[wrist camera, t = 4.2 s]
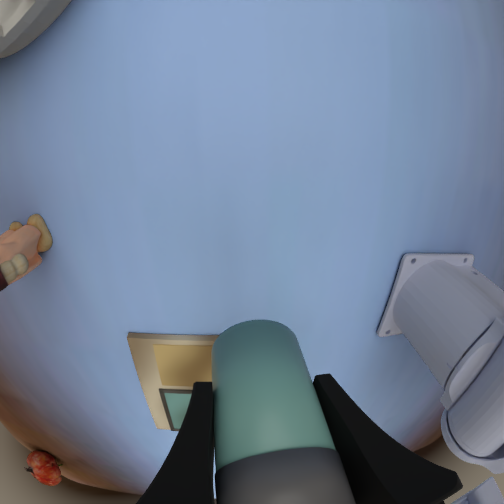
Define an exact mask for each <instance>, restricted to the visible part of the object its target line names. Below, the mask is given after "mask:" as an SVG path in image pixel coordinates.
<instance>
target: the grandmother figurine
mask: <svg viewBox="0 0 504 504" xmlns="http://www.w3.org/2000/svg"><path fill="white" fill-rule="evenodd" d="M51 246H52V236H51V234H50V232H49V230H48V228H47V226H46V224H45V222H44V220H43V218H42V217H41V216H40V215H38V214H34V215H32V216H30V217H29V219H28V221H27V225H24V226H22V224H21V223H19V222H13V223H12V224H11V225H10V227H9V230H8V231H6V232H5V233H3V234H2V235H1V236H0V291H1V290H3V289H4V288H6V287H7V286H8V285H10V284H11V283H13V282H15V281H17V280H18V279H20V278H22V277H23V276H25V275H26V274H28V273H29V272H31V271H32V270H33V269H35V268H36V267H37V266H38V265H40V264H41V263H42V258H41V256H40V255H38V252H44V251H47V250H49V249H50V248H51Z"/></svg>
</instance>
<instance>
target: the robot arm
mask: <svg viewBox="0 0 504 504" xmlns="http://www.w3.org/2000/svg"><path fill="white" fill-rule="evenodd" d="M412 259H413V260H412ZM411 260H412V261H411ZM473 261H474V256H473V255H472V254H423V253H408V254H405V255H404V256H403V258H402V260H401V264H400V267H399V270H398V274H397V277H396V280H395V283H394V286H393V289H392V292H391V295H390V298H389V301H388V304H387V307H386V310H385V312H384V315H383V318H382V320H381V323H380V326H379V328H378V331H377V334H378V336H379V337H385V336H391V335H397V334H404V335H405V336H406V338H407V339H408V340H409V342H410V343H411V344H412V346H413V347H414V349H415V350H416V351H417V353H418V354H419V355H420V357H421V358H422V359H423V361H424V362H425V364H426V365H427V366H428V368H429V369H430V371H431V372H432V374H433V375H434V376H435V378H436V379H437V381H438V382H439V384H440V385H441V387H442V388H443V389H444V391H445V392H444V394H443V396H442V397H441V398H440V401H441V402H442V404H443V405H444V407H445V410H444V412H443V414H442V418H441V429H442V434H443V437H444V440H445V441H446V444H447V446H448V447H449V449H450V450H451V451H452V452H453V453H454V454H455V455H456V456H457V457H458V458H460V459H461V460H463V461H465V462H468V463H473V464H479V465H482V466H484V467H486V468H487V469H488V470H490V471H491V472H492V473H494V474H499V473H504V291H503V290H501V289H500V288H499V287H498V286H497V285H495V284H494V283H493V282H492V281H490V280H489V279H488V278H487V277H485V276H484V275H483V274H482V273H480V272H479V271H478V270H476V269H475V268H474V267H472V264H473ZM313 385H314V388H315V391H316V394H317V397H318V400H319V402H320V405H321V408H322V411H323V414H324V417H325V420H326V423H327V425H328V428H329V431H330V434H331V437H332V440H333V443H334V446H335V449H336V451H337V452H338V453H339V456H340V458H341V461H342V464H343V467H344V470H345V473H346V476H347V479H348V482H349V485H350V488H351V491H352V494H353V497H354V500H355V503H356V504H445V503H444V501H443V500H445V499H447V498H448V497H450V496H451V495H453V494H454V493H456V492H457V491H459V490H460V489H462V487H463V485H462V483H461V481H460V479H459V477H458V475H457V473H456V472H455V471H452V470H449V469H446V468H444V467H441V466H438V465H436V464H434V463H432V462H430V461H428V460H426V459H424V458H422V457H420V456H419V455H417V454H415V453H413V452H412V451H410V450H408V449H407V448H405V447H404V446H402V445H401V444H400V443H398V442H397V441H395V440H394V439H393V438H392V437H390V436H389V435H388V434H387V433H385V432H384V431H383V430H382V429H381V428H380V427H378V426H377V425H376V424H375V423H374V422H373V421H372V420H371V419H370V418H369V417H368V416H367V415H366V414H365V413H364V412H363V411H362V410H361V409H360V408H359V407H358V406H357V405H356V403H355V402H354V401H353V400H352V399H351V398H350V397H349V396H348V394H347V393H346V392H345V391H344V390H343V389H342V387H341V386H340V385H339V384H338V383H337V381H336V380H335V379H334V378H333V377H332V375H331V374H322V375H315V378H314V381H313ZM213 414H214V411H213V386H212V382H195V383H193V390H192V394H191V398H190V402H189V405H188V408H187V412H186V414H185V417H184V420H183V422H182V425H181V428H180V430H179V433H178V435H177V437H176V439H175V441H174V444H173V446H172V448H171V450H170V452H169V454H168V456H167V458H166V460H165V461H164V463H163V465H162V467H161V468H160V470H159V472H158V473H157V475H156V476H155V478H154V480H153V481H152V483H151V484H150V486H149V487H148V489H147V490H146V491H145V493H144V494H143V495H142V497H141V498H140V499H139V500H138V502H137V503H136V504H214V491H213V465H214V427H213ZM451 504H504V498H503V496H502V494H501V492H500V490H499V488H498V486H497V484H496V482H495V480H494V478H493V477H490V478H489V479H487V480H486V481H484V482H483V483H482V484H480V485H479V486H478V487H476V488H475V489H473V490H472V491H469V492H468V493H466V494H465V495H463V496H462V497H460V498H459V499H457V500H456V501H454V502H453V503H451Z"/></svg>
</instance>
